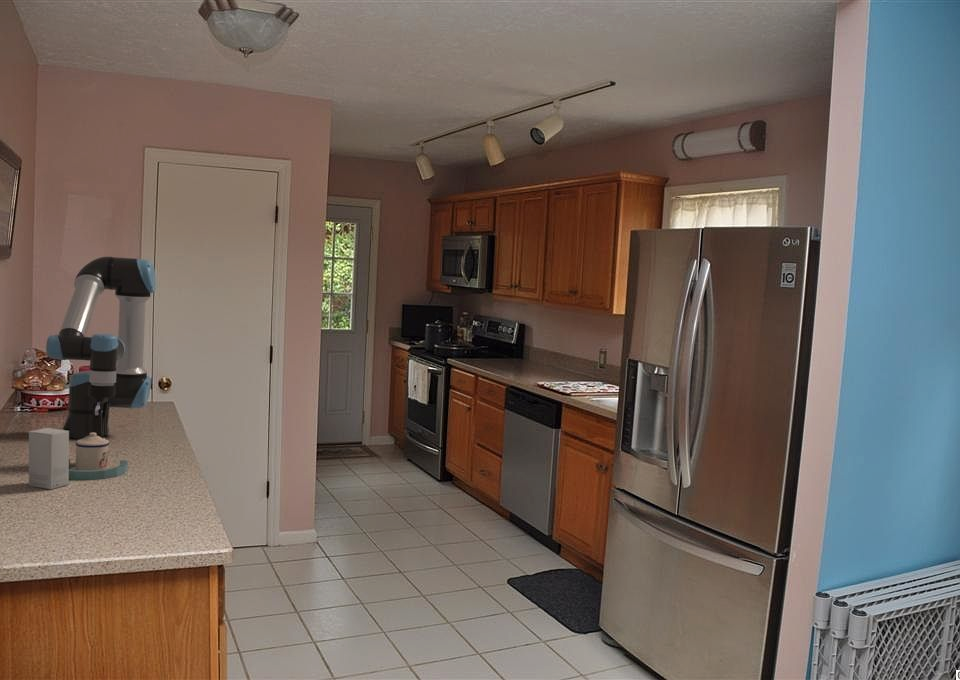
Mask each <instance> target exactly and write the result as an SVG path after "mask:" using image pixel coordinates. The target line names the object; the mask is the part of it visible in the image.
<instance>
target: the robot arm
mask: <svg viewBox="0 0 960 680" xmlns="http://www.w3.org/2000/svg"><path fill="white" fill-rule="evenodd" d="M156 282H157V281H156V271H155V266H154V264H153V263H152V262H151V261H150V260H147V259H141V258H131V257H130V258H128V257H116V256H115V257H114V256H102V257H101V256H100V257H98V258H95V259H93V260H91V261H90V262H88V263H86V264H85V265H84V266H83V267H82V268H81V269H80V270H79V271H78V273H77V274H76V276H75V278H74V282H73V285H74V292H73V294H72V296H71V300H70V302H69V304H68V305H69V306H68V308H67V309H66V314H65V316H64V319H63V321H62V324H61V326H60V330H59V331H58V334H51V335H50V336H48V338H47V340H46V346H45V351H46V355H47V357H48V358H50V359H55V360H68V361H70V360H71V361H72V360H73V361H76V360H77V361H89V370H86V371H85V370H84V371H79V372H75V373H73V374H72V375H70V377H69V386H68V412H67V417H66V419H65V422H64V424H63V427H62V429H61V430H66V431H69V439H74V440H80V439H83V438H85V437H87V436H89V434H90V433H93V432H94V433H96V434H97V435H96V436H99V437H101V438H103V439H106V438H108V437H109V435H110V434H109V433H110V432H109V431H110V428H109V425H108V424H109V416H110V408H122V409H124V408H125V409H143V408H144V407H145V406H146V404H147V402H148V400H149V397H150V393H151V388H152V387H151V386H152V377H151V376H149V375H148V371H147V370H146V368H144V348H145V347H144V341H145V326H146V325H145V322H146V303H147V301H148V300H149V299H150V298H151V294H153V293H155V292H156V288H157V287H156V285H157V284H156ZM104 290H113V291H114V292H115V293H114V295H115V297H116V298H117V299H118V300H119V305H118V306H119V307H118V310H119V311H118V332H117V334H118V335H116V334H110V333H95V334H93V335H91V336H86V335H87V331H88V330H89V326H90V322H91V319H92V316H93V313H94V311H95V308H96V304H97V302H98V299H99V296H100V295H102V294H103V292H104Z"/></svg>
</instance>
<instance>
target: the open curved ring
mask: <svg viewBox="0 0 960 680" xmlns="http://www.w3.org/2000/svg"><path fill="white" fill-rule="evenodd" d="M70 466H71V458H69V468H70ZM128 467H129V462H128V461H127V460H126V459H121V460H119V465H118V466H117V465H116V466H115V467H109V468H107V469H103V470H75V469H73V468H72V469H71V468H70V469H69V480H78V481H79V480H80V481H81V480H82V481H84V480H85V481H91V480H92V481H94V480H105V479H110V478H117V477H120V476H122V475H125V474H126V473H127V472H128V471H129V470H128V469H129V468H128Z"/></svg>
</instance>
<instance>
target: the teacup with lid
mask: <svg viewBox="0 0 960 680" xmlns="http://www.w3.org/2000/svg"><path fill="white" fill-rule="evenodd" d="M96 435H97V434H96V433H94V432H93V433H90V434H89V436H87V437H85V438H83V439H77V441H76V442H75V446H76V447H75V449H76V450H75V468H74V470H103V469H108V461H109V460H108V459H109V456H108V455H109V445H110V441H109V440H108V439H106V438H105V439H103V438H101V437H99V436H96Z"/></svg>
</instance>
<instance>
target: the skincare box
mask: <svg viewBox="0 0 960 680" xmlns="http://www.w3.org/2000/svg"><path fill="white" fill-rule="evenodd" d="M69 449H70V438H69V431H66V430H62V429H58V428H57V429H56V428H50V427H45V428H40V429H35V430H34V429H33V430H30V431H28V486H29V487H34V488H40V489H45V490H55V489H59V488H62V487H66V486H69V480H70V479H69V468H70V467H69V459H70V458H69V455H70V454H69V453H70V450H69Z"/></svg>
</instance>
